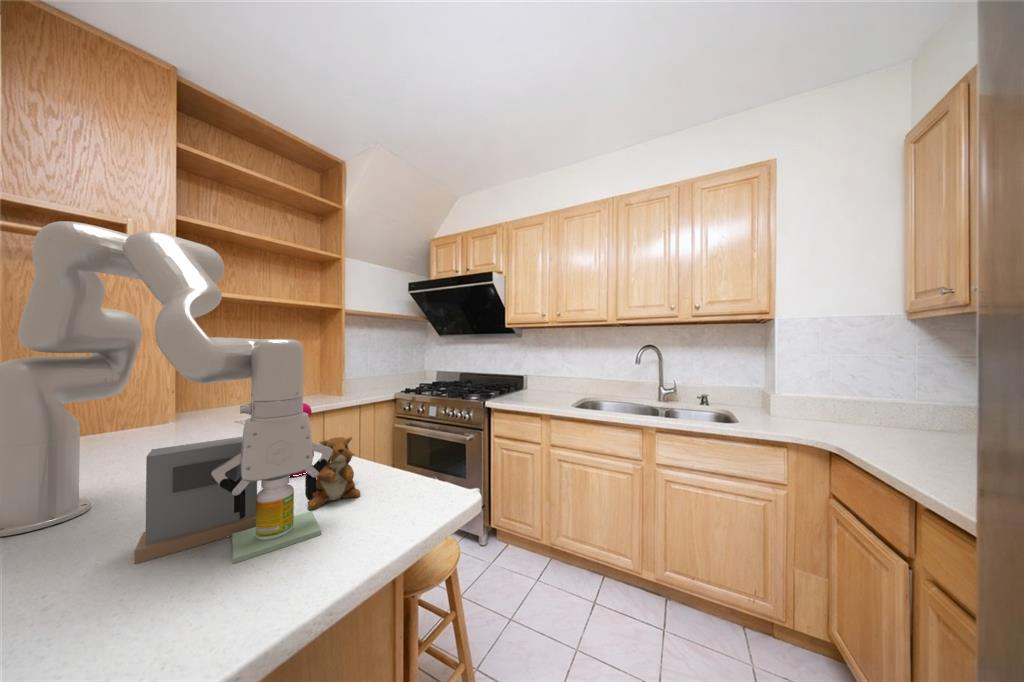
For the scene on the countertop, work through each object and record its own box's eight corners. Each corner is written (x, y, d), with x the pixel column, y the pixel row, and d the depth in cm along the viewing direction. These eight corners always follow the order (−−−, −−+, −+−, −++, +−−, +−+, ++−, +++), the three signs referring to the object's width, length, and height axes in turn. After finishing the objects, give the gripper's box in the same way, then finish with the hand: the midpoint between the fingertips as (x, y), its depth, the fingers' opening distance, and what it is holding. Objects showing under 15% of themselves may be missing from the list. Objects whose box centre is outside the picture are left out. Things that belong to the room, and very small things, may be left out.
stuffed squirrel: (308, 513, 66) (308, 447, 66) (306, 488, 78) (307, 432, 78) (362, 500, 72) (362, 439, 72) (353, 478, 84) (353, 426, 84)
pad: (232, 563, 51) (232, 558, 51) (232, 538, 58) (232, 533, 58) (321, 534, 59) (321, 530, 59) (311, 515, 65) (311, 511, 65)
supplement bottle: (287, 537, 56) (287, 480, 56) (249, 543, 55) (250, 484, 55) (297, 522, 61) (298, 469, 62) (263, 526, 60) (264, 472, 60)
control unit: (134, 564, 51) (135, 459, 51) (143, 543, 56) (144, 449, 56) (264, 526, 61) (264, 440, 61) (261, 512, 67) (261, 432, 67)
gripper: (210, 419, 50) (209, 533, 50) (337, 405, 61) (336, 498, 61) (212, 412, 56) (211, 514, 55) (327, 400, 67) (327, 485, 67)
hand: (277, 506), depth 58 cm, fingers open, 9 cm apart
